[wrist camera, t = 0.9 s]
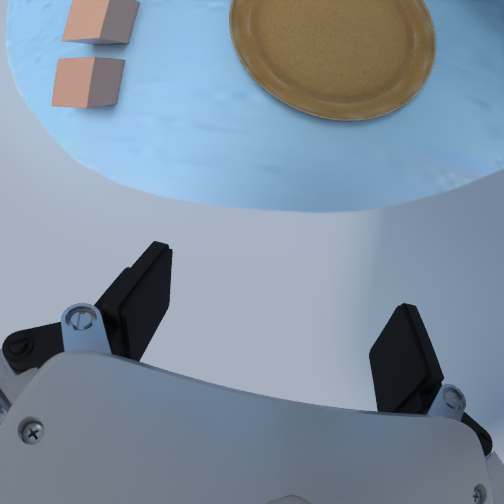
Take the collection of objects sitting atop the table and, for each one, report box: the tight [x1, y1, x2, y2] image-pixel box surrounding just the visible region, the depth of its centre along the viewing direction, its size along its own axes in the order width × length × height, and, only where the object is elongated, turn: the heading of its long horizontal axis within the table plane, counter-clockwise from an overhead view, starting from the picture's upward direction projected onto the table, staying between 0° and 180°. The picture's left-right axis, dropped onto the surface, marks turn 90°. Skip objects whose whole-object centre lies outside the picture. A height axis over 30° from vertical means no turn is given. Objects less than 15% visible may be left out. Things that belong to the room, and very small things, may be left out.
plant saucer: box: [229, 0, 436, 121], centre depth 25 cm, size 24×24×3 cm
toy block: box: [62, 0, 140, 44], centre depth 25 cm, size 6×6×7 cm
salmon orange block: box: [52, 57, 125, 108], centre depth 30 cm, size 6×6×7 cm
